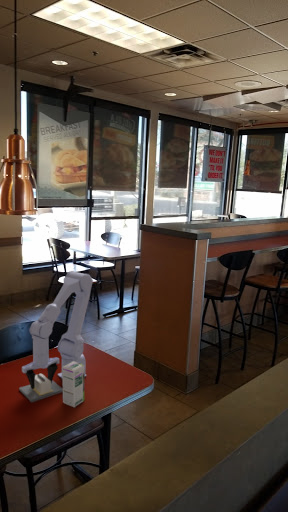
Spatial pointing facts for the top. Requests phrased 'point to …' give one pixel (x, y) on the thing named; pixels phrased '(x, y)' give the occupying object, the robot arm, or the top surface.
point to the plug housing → (42, 384)
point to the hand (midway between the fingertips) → (41, 385)
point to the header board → (35, 395)
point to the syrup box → (73, 383)
